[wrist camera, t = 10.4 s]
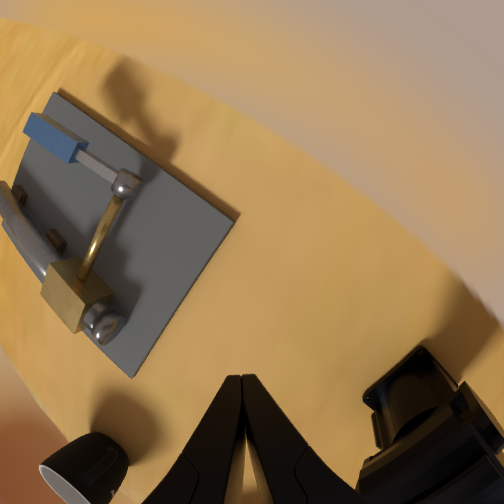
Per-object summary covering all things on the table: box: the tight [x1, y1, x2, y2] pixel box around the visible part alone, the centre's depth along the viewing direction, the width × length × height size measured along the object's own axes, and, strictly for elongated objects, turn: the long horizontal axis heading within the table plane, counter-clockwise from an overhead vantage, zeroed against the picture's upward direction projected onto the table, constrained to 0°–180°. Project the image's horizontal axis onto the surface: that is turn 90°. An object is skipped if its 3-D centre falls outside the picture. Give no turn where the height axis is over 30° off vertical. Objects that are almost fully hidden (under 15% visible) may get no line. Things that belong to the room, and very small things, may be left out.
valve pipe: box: [0, 181, 126, 346], centre depth 22 cm, size 23×12×4 cm, turn 54°
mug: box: [39, 432, 129, 504], centre depth 24 cm, size 12×9×10 cm
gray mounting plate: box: [2, 92, 235, 379], centre depth 25 cm, size 26×18×1 cm
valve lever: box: [23, 112, 143, 201], centre depth 19 cm, size 2×2×12 cm
